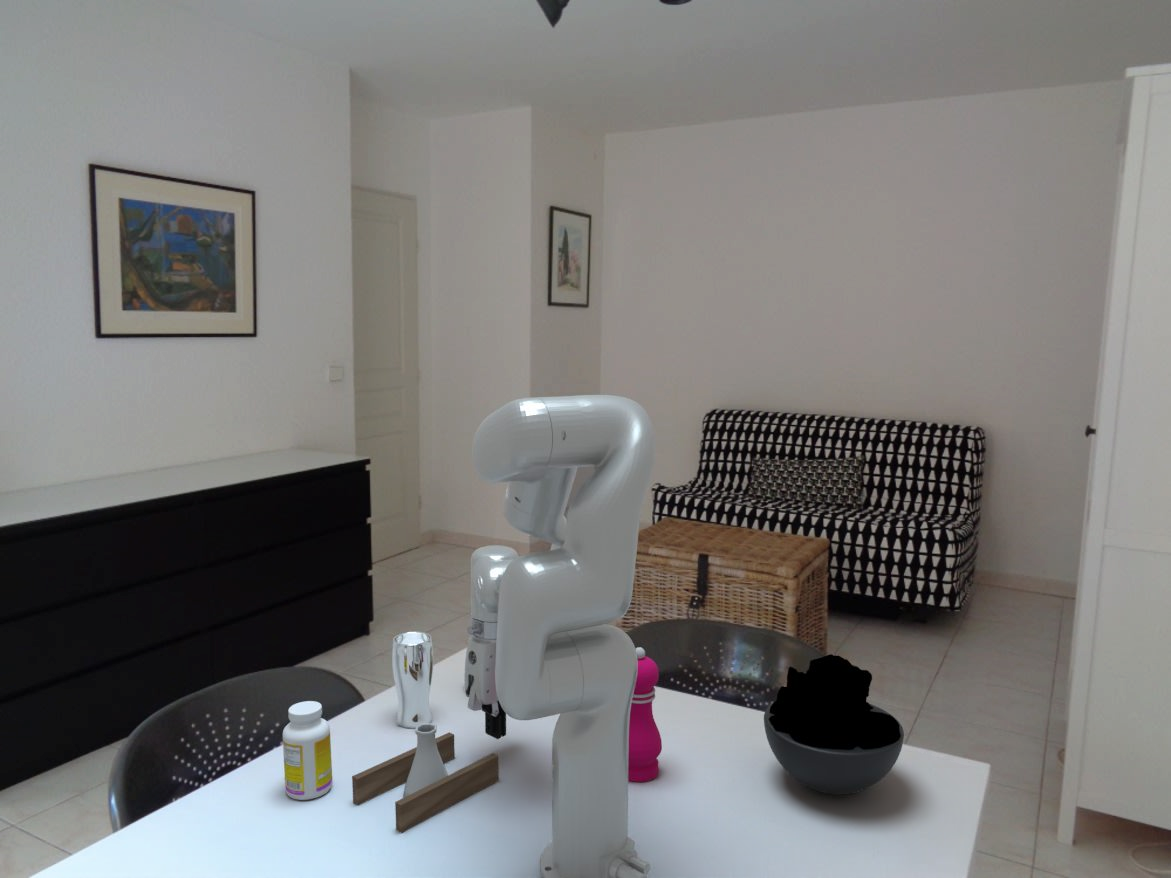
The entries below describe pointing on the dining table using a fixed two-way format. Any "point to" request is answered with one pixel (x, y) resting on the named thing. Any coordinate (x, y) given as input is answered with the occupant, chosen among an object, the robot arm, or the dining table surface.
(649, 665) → the pepper mill
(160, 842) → the dining table surface
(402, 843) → the dining table surface
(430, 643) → the beer glass
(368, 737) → the dining table surface
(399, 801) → the chute
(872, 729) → the bowl of black rocks
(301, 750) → the supplement bottle
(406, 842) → the dining table surface
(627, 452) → the robot arm
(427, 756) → the flask
